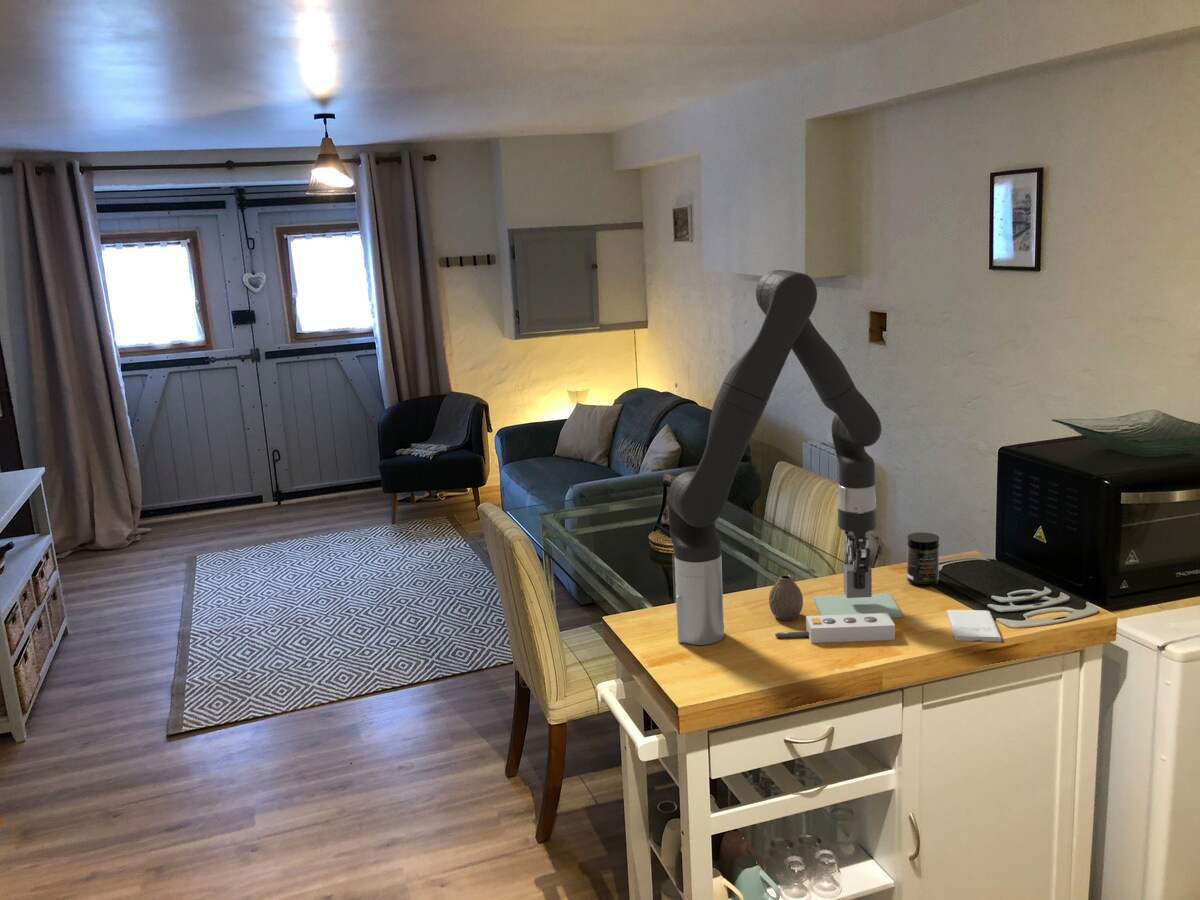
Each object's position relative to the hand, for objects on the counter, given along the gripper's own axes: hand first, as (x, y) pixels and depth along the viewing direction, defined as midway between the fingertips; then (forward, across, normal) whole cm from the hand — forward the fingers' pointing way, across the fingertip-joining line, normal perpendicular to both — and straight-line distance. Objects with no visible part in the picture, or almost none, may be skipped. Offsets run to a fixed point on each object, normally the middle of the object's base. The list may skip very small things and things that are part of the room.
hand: (857, 584), depth 205 cm
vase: (+5, +3, -15) cm, 16 cm away
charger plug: (+2, 0, 0) cm, 2 cm away
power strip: (+5, +13, -7) cm, 16 cm away
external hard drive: (+6, +12, +20) cm, 24 cm away
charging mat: (+5, 0, 0) cm, 5 cm away
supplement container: (+6, -13, +17) cm, 22 cm away
